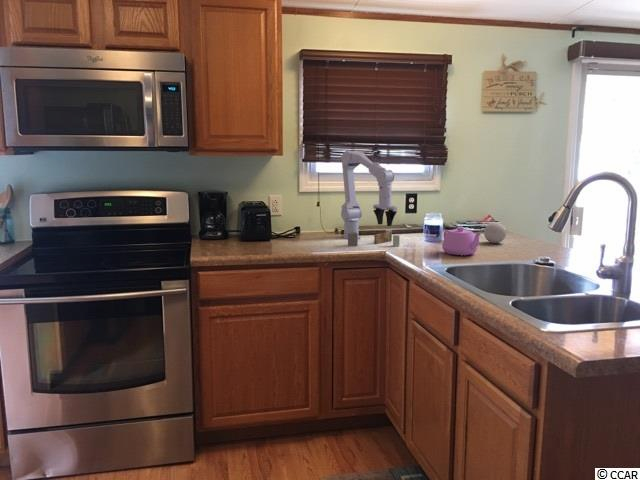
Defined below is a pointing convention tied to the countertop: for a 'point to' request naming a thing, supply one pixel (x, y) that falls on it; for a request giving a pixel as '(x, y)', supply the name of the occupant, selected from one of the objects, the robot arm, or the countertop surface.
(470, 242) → the teapot
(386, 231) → the hinge post
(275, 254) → the countertop surface
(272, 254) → the countertop surface
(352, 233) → the block
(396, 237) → the stop wall
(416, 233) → the countertop surface
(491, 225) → the ball
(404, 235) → the countertop surface
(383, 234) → the door
